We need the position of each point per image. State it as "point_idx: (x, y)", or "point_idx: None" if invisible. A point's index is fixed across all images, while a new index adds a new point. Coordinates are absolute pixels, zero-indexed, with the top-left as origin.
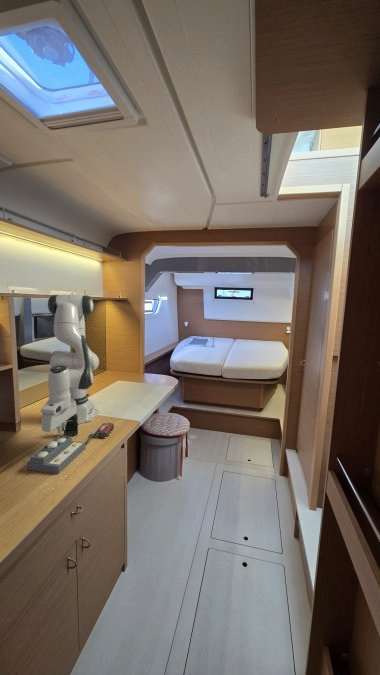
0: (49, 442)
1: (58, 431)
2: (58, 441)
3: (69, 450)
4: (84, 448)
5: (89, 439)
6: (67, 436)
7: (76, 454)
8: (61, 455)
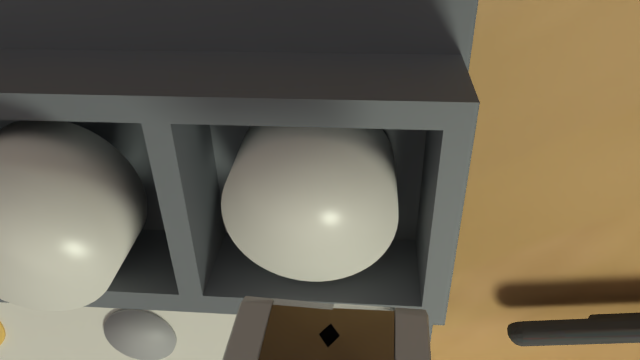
0: (15, 181)
1: (240, 336)
2: (237, 206)
3: (191, 339)
4: None
5: (600, 343)
6: (431, 272)
7: None
8: (61, 314)
